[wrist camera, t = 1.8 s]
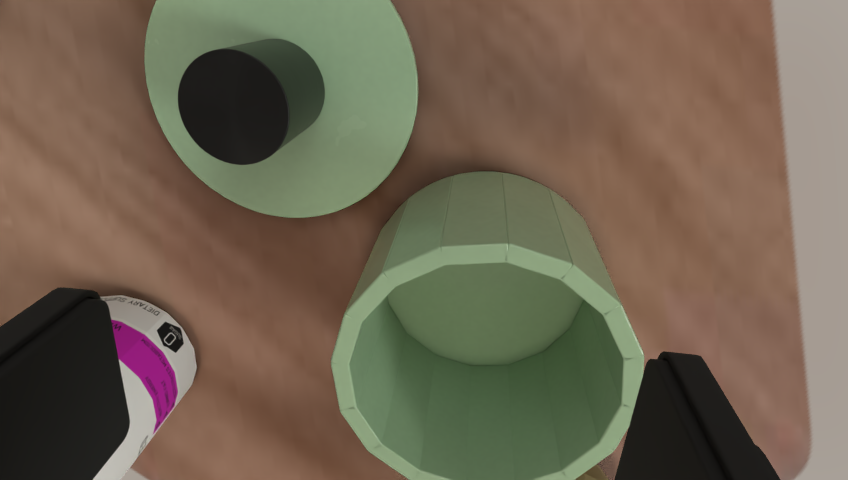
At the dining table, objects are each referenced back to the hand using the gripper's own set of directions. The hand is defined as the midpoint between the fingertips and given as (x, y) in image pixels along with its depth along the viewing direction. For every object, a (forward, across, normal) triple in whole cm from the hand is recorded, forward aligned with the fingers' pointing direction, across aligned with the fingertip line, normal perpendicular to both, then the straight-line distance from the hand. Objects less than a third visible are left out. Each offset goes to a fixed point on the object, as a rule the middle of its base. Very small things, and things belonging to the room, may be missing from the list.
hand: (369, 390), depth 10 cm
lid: (+20, +8, -2) cm, 22 cm away
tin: (+21, -3, +8) cm, 22 cm away
